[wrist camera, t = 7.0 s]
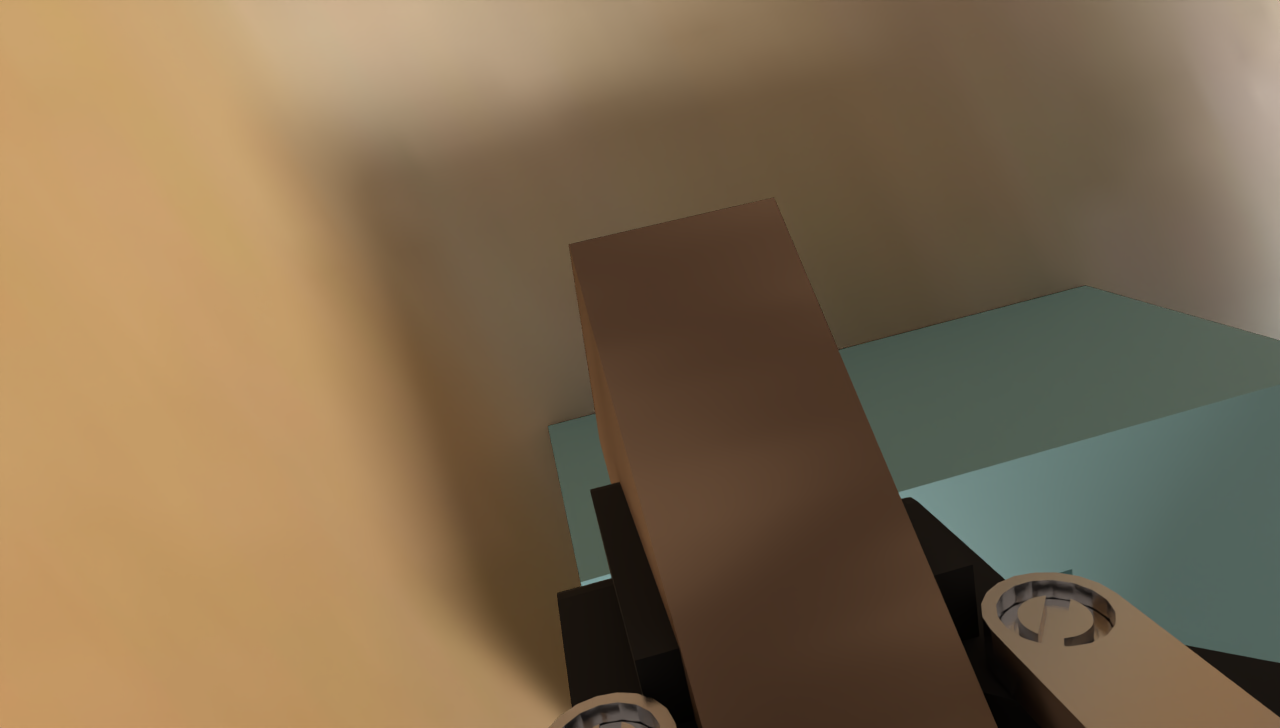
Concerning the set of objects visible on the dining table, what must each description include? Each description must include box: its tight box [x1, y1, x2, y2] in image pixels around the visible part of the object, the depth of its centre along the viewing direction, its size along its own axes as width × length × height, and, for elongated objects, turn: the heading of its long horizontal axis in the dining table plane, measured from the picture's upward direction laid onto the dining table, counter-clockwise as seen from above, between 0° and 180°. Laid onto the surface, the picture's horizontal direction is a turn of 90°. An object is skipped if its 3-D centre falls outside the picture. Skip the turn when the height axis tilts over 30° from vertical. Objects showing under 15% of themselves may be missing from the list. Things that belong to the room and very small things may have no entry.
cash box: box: [548, 286, 1280, 663], centre depth 27 cm, size 20×16×10 cm
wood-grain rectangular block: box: [569, 198, 998, 728], centre depth 11 cm, size 2×6×7 cm
